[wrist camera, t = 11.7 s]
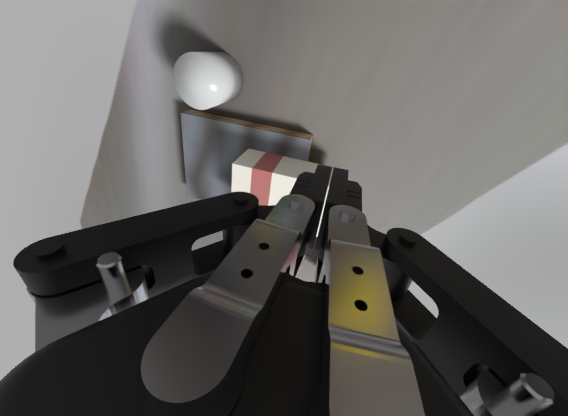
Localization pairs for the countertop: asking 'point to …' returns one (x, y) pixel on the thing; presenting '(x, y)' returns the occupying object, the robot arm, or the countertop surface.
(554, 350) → the robot arm
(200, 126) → the podium
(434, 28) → the countertop surface
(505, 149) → the countertop surface
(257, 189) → the carton
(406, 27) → the countertop surface
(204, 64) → the white rounded capsule
